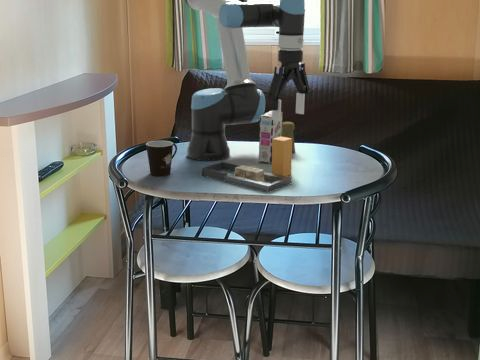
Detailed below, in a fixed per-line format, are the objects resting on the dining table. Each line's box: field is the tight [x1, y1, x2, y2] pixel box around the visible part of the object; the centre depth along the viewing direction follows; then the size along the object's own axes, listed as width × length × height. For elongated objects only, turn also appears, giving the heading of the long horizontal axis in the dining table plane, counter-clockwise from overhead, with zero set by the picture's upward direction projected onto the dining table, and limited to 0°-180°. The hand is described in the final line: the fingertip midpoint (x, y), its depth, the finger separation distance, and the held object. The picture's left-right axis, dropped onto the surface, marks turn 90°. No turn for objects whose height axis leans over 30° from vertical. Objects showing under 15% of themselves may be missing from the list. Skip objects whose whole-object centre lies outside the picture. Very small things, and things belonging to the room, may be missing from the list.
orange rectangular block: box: [271, 136, 293, 177], centre depth 216 cm, size 4×4×12 cm
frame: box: [201, 161, 243, 182], centre depth 217 cm, size 10×11×2 cm
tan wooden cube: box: [246, 167, 265, 182], centre depth 210 cm, size 4×4×4 cm
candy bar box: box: [258, 110, 284, 165], centre depth 234 cm, size 11×5×16 cm, turn 159°
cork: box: [282, 121, 296, 154], centre depth 246 cm, size 6×6×11 cm
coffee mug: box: [145, 140, 178, 177], centre depth 217 cm, size 12×9×10 cm
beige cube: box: [234, 164, 254, 178], centre depth 212 cm, size 4×4×4 cm
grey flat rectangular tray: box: [223, 170, 292, 193], centre depth 209 cm, size 17×12×2 cm
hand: (288, 117), depth 213 cm, fingers open, 13 cm apart
